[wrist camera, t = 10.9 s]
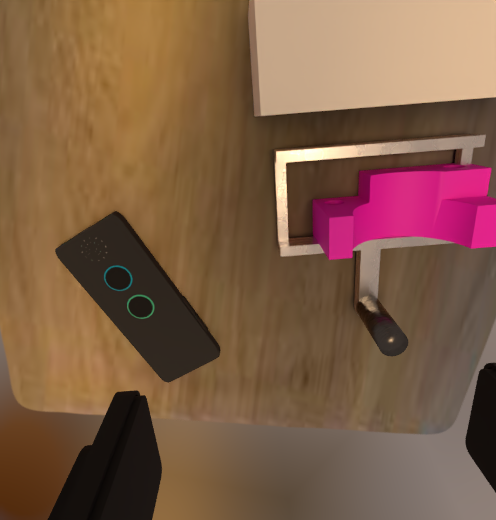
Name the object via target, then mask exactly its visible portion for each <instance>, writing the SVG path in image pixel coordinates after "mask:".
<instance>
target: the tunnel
mask: <svg viewBox="0 0 496 520" xmlns="http://www.w3.org/2000/svg"><path fill="white" fill-rule="evenodd" d="M248 24H249V40H250V55H251V71H252V87H253V103H254V117H256V116H269V115H279V114H291V113H304V112H316V111H329V110H341V109H353V108H366V107H378V106H391V105H403V104H416V103H428V102H440V101H453V100H465V99H480V98H492V97H496V0H249V10H248Z"/></svg>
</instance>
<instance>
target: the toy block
mask: <svg viewBox="0 0 496 520" xmlns="http://www.w3.org/2000/svg"><path fill="white" fill-rule="evenodd" d="M490 174H491V168H489V167H484V166H479V165H474V164H470V165H456V164H455V163H451V164H438V165H426V166H413V167H401V168H389V169H376V170H364V171H359V190H358V196H350V197H338V198H326V199H313V236H314V237H315V239H316V240H317V242H318V243H319V245H320V246H321V248H322V249H323V251H324V253H325V254H326V256H327V257H328V259H329V260H332V259H344V258H352V253H353V249H354V248H355V247H356V246H357V245H359V244H361V243H363V242H366V241H369V240H373V239H378V238H385V237H398V236H412V237H426V238H434V239H440V240H445V241H450V242H454V243H457V244H461V245H464V246H466V247H469V248H482V247H495V246H496V199H495V198H491V197H488V196H487V192H488V186H489V180H490Z"/></svg>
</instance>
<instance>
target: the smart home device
mask: <svg viewBox="0 0 496 520" xmlns="http://www.w3.org/2000/svg"><path fill="white" fill-rule="evenodd" d="M55 252H56V254H57V256H58V258H59V259H60V261H61V262H62V263H63V264H64V265H65V266H66V268H67V269H68V270H69V271H70V272H71V274H72V275H73V276H74V277H75V278H76V279H77V281H78V282H79V283H80V284H81V285H82V286H83V288H84V289H85V290H86V291H87V292H88V293H89V295H90V296H91V297H92V298H93V299H94V300H95V302H96V303H97V304H98V305H99V306H100V308H101V309H102V310H103V311H104V312H105V313H106V315H107V316H108V317H109V318H110V319H111V320H112V322H113V323H114V324H115V325H116V326H117V327H118V329H119V330H120V331H121V332H122V333H123V335H124V336H125V337H126V338H127V339H128V340H129V342H130V343H131V344H132V345H133V346H134V347H135V349H136V350H137V351H138V352H139V353H140V354H141V356H142V357H143V358H144V359H145V360H146V361H147V363H148V364H149V365H150V366H151V367H152V369H153V370H154V371H155V372H156V373H157V374H158V376H159V377H160V378H161V379H162V380H163V381H165V382H171V381H173V380H175V379H177V378H179V377H181V376H183V375H185V374H187V373H189V372H191V371H193V370H195V369H197V368H199V367H201V366H203V365H205V364H206V363H208V362H210V361H212V360H214V359H216V358H218V357H219V355H220V347H219V345H218V343H217V342H216V340H215V339H214V338H213V336H212V335H211V334H210V332H209V331H208V328H207V327H206V326H205V324H204V323H203V322H202V320H201V319H200V318H199V316H198V315H197V314H196V312H195V311H194V309H193V308H192V307H191V305H190V304H189V303H188V301H187V300H186V299H185V297H184V296H182V294H181V293H180V292H179V290H178V289H177V288H176V286H175V285H174V284H173V282H172V281H171V280H170V278H169V277H168V275H167V274H166V273H165V271H164V270H163V269H162V267H161V266H160V265H159V263H158V262H157V261H156V259H155V258H154V257H153V255H152V254H151V253H150V251H149V250H148V248H147V247H146V246H145V244H144V243H143V242H142V240H141V239H140V238H139V236H138V235H137V234H136V232H135V231H134V230H133V228H132V227H131V226H130V224H129V223H128V221H127V220H126V219H125V218H124V217H123V216H122V215H121V214H120V213H119V212H116V211H115V212H113V213H112V214H110V215H108V216H107V217H105V218H104V219H102V220H100V221H99V222H97V223H96V224H94V225H92V226H91V227H89V228H87V229H85V230H84V231H82V232H81V233H79V234H78V235H76V236H75V237H73V238H72V239H70V240H68V241H67V242H65V243H64V244H62V245H61V246H59V247H58V248H56V250H55Z"/></svg>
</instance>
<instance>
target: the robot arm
mask: <svg viewBox="0 0 496 520" xmlns="http://www.w3.org/2000/svg"><path fill="white" fill-rule="evenodd" d="M466 447H467V450H468V452H469V454H470V456H471V457H472V459H473V460H474V462H475V463H476V465H477V466H478V467H479V469H480V470H481V472H482V473H483V475H484V476H485V478H486V479H487V481H488V482H489V483H490V485H491V486H492V488H493V489H494V490H495V492H496V363H488V364H486V365H485V366H484V369H481V370H480V371H479V375H478V380H477V385H476V390H475V395H474V400H473V405H472V410H471V415H470V420H469V425H468V430H467V435H466ZM161 473H162V466H161V460H160V456H159V451H158V447H157V442H156V438H155V433H154V429H153V425H152V421H151V416H150V411H149V407H148V403H147V399H146V396H144V395H143V396H140V393H139V392H138V391H124V392H117V393H116V394H115V395H114V397H113V400H112V402H111V404H110V406H109V409H108V411H107V413H106V415H105V418H104V420H103V422H102V424H101V426H100V429H99V431H98V433H97V435H96V438H95V440H94V442H93V444H92V445H88V446H85V447H84V448H83V449H82V450H81V452H80V453H79V455H78V457H77V459H76V461H75V464H74V465H73V467H72V470H71V472H70V474H69V476H68V478H67V480H66V482H65V484H64V487H63V489H62V491H61V493H60V495H59V497H58V499H57V501H56V503H55V506H54V507H53V510H52V512H51V514H50V516H49V518H48V520H152V517H153V513H154V508H155V503H156V499H157V494H158V490H159V485H160V480H161Z"/></svg>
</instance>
